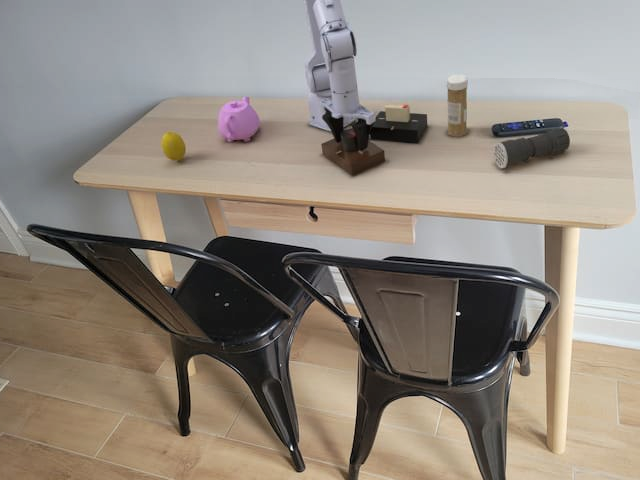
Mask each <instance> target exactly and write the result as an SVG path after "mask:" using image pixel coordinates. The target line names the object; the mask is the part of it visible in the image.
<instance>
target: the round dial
mask: <svg viewBox="0 0 640 480" xmlns="http://www.w3.org/2000/svg"><path fill="white" fill-rule="evenodd" d="M340 135H341V142H342V148H343V150H345V151H356V150H358V149H359V148H358V143H357V138H356V135H355V132H354V130H353V129H352V127H351V128H350V127H349V128H344V130H343V131H342V132H341V134H340Z"/></svg>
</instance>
